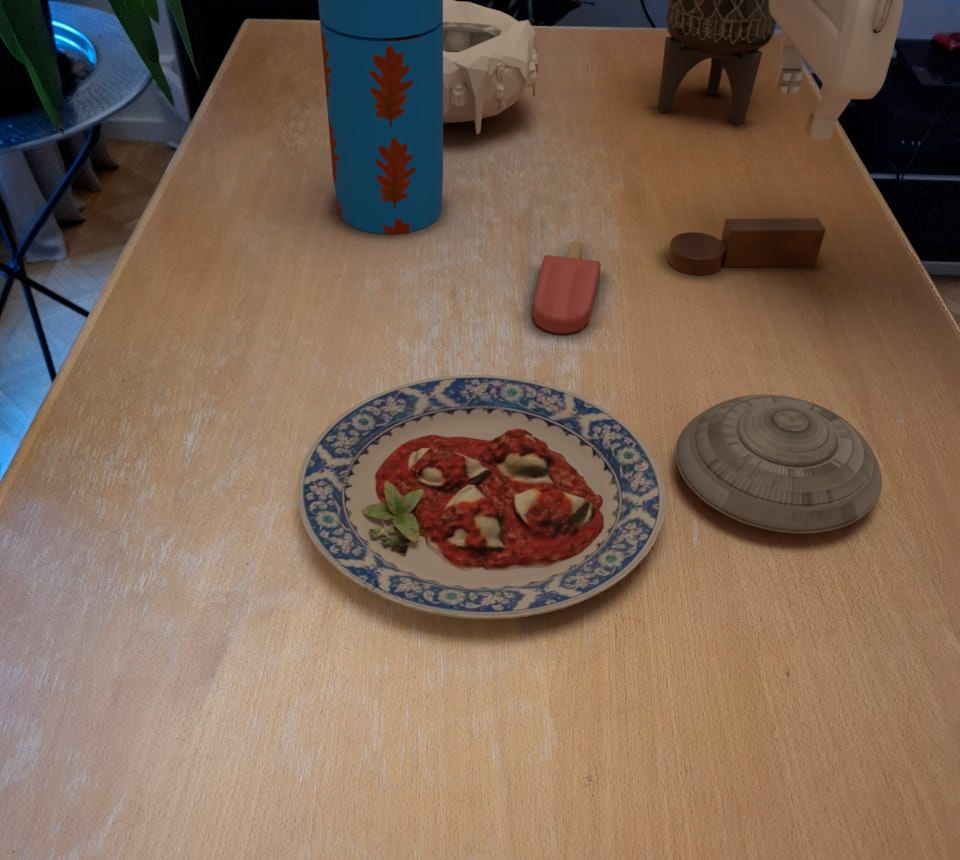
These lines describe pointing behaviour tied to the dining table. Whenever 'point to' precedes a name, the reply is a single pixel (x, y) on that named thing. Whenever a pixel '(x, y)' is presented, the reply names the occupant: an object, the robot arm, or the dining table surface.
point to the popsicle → (565, 291)
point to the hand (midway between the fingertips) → (801, 113)
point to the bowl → (484, 61)
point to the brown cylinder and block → (749, 245)
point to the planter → (716, 47)
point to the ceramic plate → (481, 496)
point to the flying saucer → (779, 464)
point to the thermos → (385, 110)
